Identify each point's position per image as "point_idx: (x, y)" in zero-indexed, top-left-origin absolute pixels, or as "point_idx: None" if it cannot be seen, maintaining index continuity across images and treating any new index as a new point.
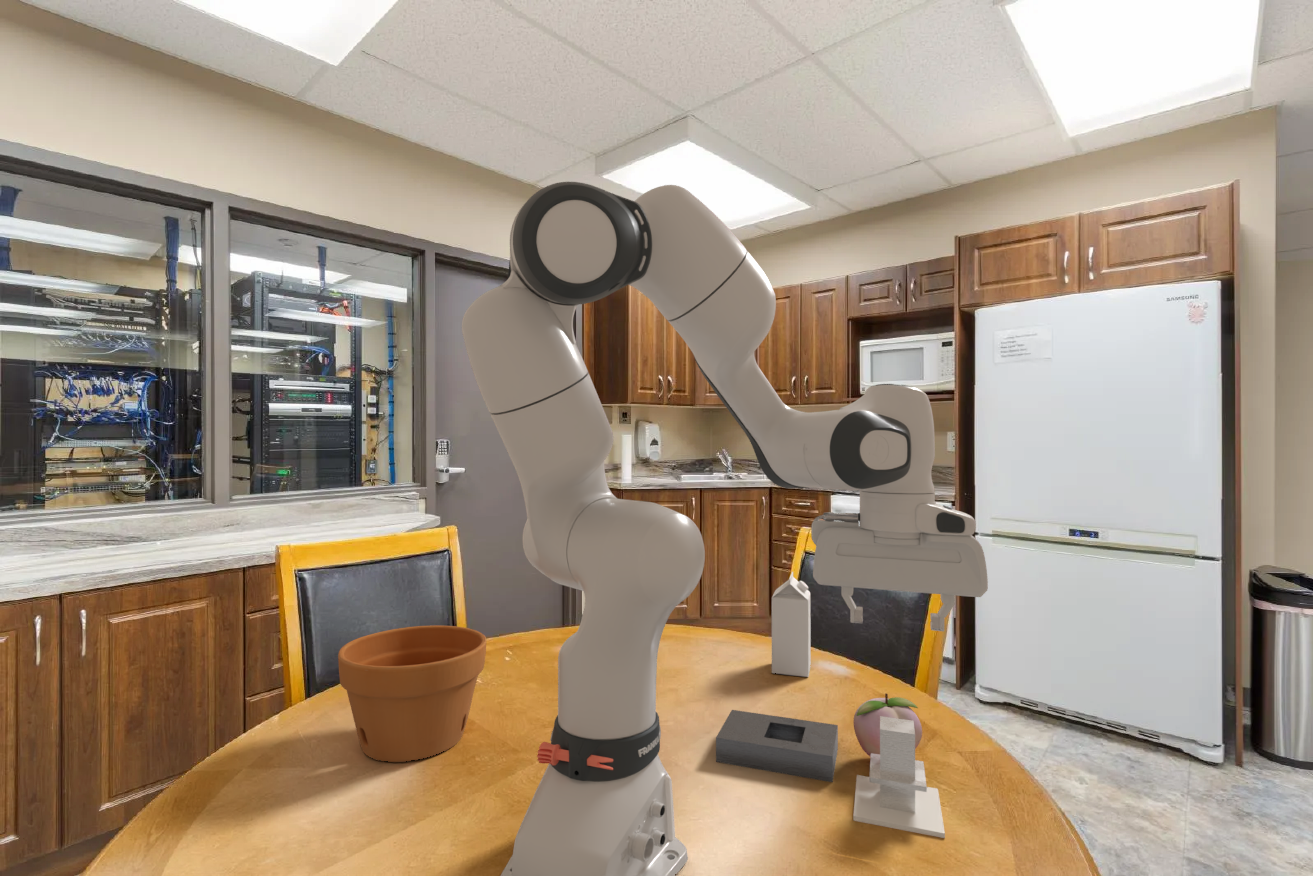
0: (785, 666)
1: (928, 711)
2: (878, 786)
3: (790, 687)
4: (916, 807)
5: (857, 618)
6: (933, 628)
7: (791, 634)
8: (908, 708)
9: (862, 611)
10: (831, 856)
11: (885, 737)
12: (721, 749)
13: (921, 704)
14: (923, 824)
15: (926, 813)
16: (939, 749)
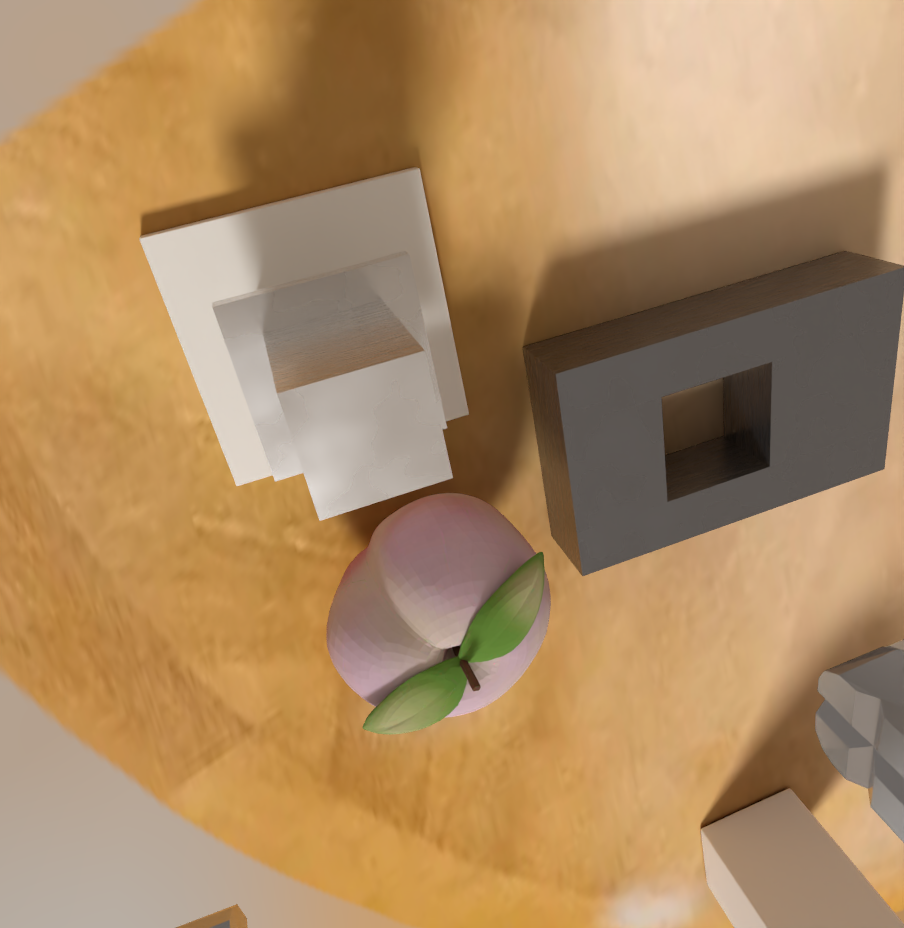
0: (771, 822)
1: (379, 869)
2: None
3: (732, 755)
4: None
5: (897, 674)
6: (210, 924)
7: (823, 918)
8: (387, 689)
9: (902, 771)
10: None
11: (394, 345)
12: (862, 263)
13: (404, 889)
14: (214, 251)
15: None
16: (299, 708)
